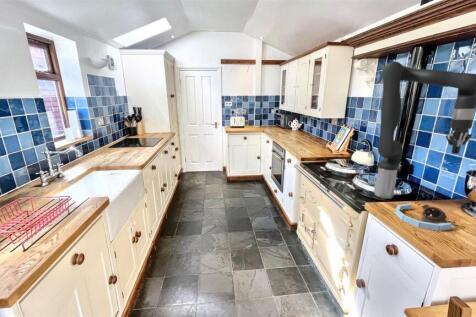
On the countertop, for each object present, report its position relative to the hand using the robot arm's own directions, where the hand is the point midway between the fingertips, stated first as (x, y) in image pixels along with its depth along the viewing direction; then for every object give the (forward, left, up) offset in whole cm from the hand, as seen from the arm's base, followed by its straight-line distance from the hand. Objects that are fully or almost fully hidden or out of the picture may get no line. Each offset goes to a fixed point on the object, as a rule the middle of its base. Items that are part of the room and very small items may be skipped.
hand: (455, 153), depth 111 cm
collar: (+7, -26, -29) cm, 39 cm away
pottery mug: (+10, -20, -29) cm, 37 cm away
